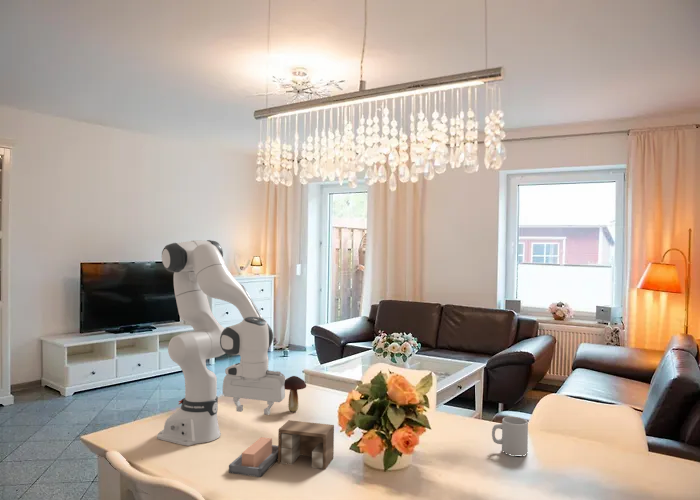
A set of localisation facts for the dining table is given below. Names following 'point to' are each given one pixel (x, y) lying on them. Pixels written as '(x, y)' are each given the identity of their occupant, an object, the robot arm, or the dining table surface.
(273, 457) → the tray
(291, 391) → the decorative mushroom
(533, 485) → the dining table surface
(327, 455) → the shelf
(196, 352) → the robot arm
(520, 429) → the mug
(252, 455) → the block
